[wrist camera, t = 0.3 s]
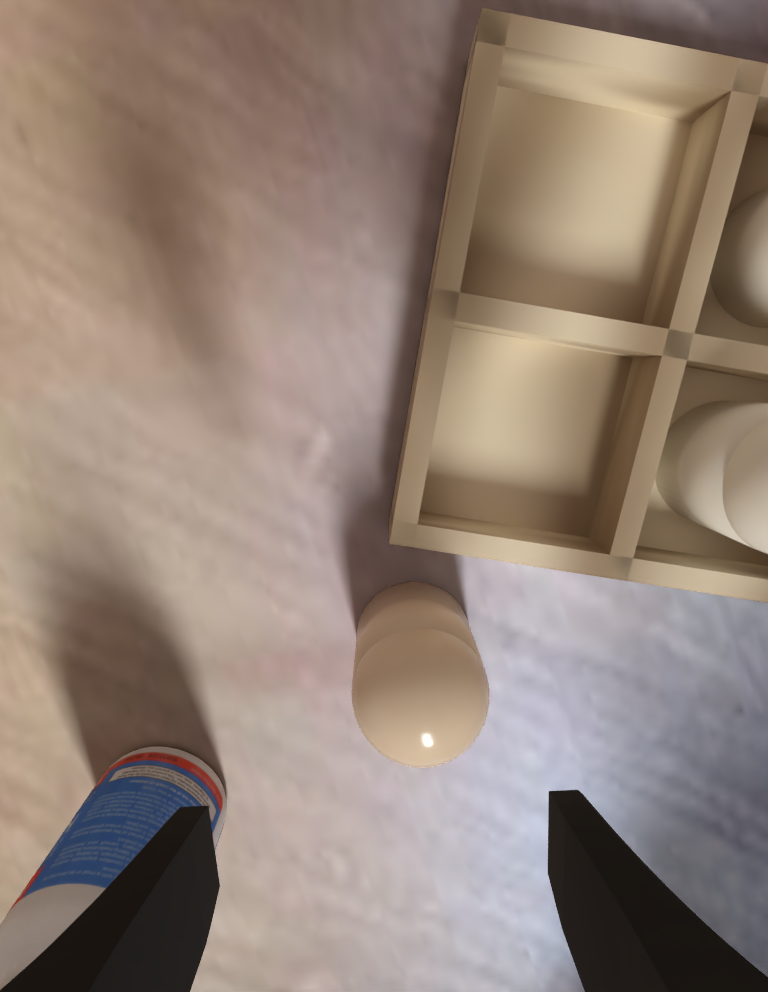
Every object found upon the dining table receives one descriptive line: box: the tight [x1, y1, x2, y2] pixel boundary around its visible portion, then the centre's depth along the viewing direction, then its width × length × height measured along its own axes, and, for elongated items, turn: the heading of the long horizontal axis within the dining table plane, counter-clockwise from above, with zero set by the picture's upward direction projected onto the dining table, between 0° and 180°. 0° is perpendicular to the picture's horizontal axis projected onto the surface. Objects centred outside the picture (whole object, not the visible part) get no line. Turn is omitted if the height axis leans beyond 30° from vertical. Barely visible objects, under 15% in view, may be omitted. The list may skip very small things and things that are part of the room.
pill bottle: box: [0, 746, 227, 990], centre depth 18 cm, size 6×5×10 cm
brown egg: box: [352, 582, 489, 768], centre depth 19 cm, size 4×4×6 cm
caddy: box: [388, 8, 768, 603], centre depth 18 cm, size 15×15×2 cm
